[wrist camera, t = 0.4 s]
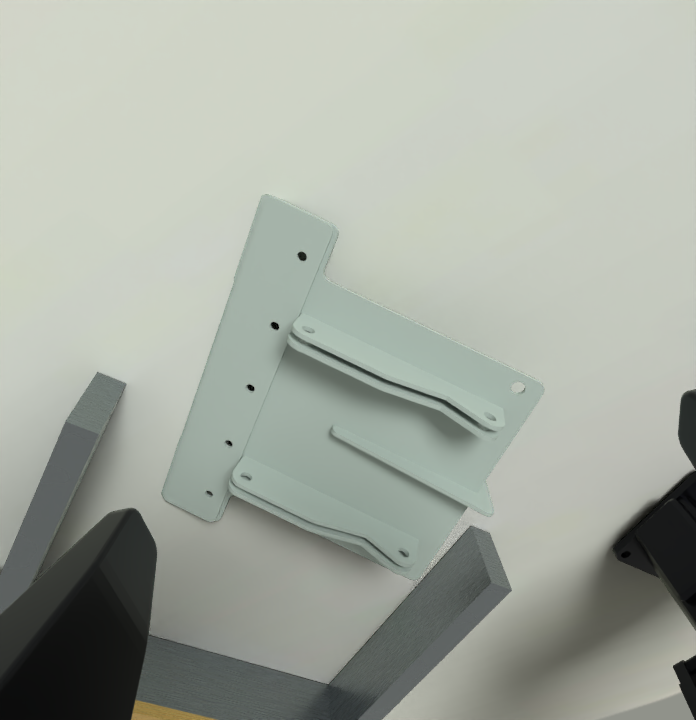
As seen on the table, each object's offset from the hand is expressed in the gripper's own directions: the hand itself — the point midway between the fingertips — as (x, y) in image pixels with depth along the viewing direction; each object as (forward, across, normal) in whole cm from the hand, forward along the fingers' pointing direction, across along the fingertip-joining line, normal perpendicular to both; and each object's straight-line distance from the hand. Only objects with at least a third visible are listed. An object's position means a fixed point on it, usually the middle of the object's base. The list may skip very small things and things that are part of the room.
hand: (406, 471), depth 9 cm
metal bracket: (+14, +2, +7) cm, 16 cm away
